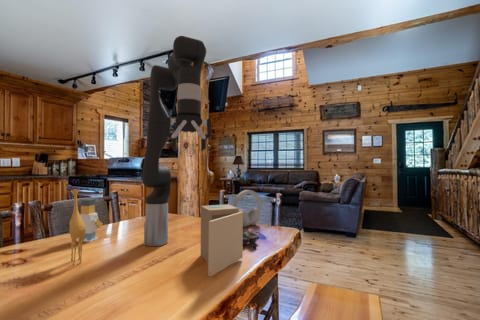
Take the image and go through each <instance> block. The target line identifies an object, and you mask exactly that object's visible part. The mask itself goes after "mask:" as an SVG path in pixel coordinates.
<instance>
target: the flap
mask: <svg viewBox="0 0 480 320" xmlns="http://www.w3.org/2000/svg"><path fill="white" fill-rule="evenodd" d="M243 228H244V227H243V212H239V213H235V214H232V215H228V216H225V217H221V218H218V219H214V220H211V221H209V251H208V263H207V265H208V266H207V267H208V268H207V269H208V270H207V271H208V273H207V275H208V276H209V277H213V276H214V275H216V274H218V273H220V272H221V271H222V270H224V269H225V268H227V267H229V266H231V265H233V264H234V263H236V262H238V261H239V260H241V259H242V258H243V252H244V251H243V246H244V244H243V231H244V230H243Z"/></svg>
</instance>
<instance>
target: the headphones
mask: <svg viewBox="0 0 480 320" xmlns="http://www.w3.org/2000/svg"><path fill="white" fill-rule="evenodd" d="M248 194H249V195H252V197H254V199H255V200H256V202H257V208H255V207H251V208H250V209H248V210H247V212H246V211H245V209H242V208H239V212H243V228H246V227H247V226H248V225H249V226H256V225H257V223H259V221H260V220H261V219H260V218H261V215H260V214H261V211H262V201H261V197H260V195H259V193H258V192H256V191H255V190H251V189H245V190H244V189H243V190H242V191H240V192H239V193H238V194H237V195H236V196H235V198H234V201H233V204H232V206H234V207H237V205H238V203H239V202H240V201H241V199H242V198H243V197H244V196H245V195H248ZM237 208H238V207H237Z"/></svg>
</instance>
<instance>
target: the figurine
mask: <svg viewBox="0 0 480 320" xmlns="http://www.w3.org/2000/svg"><path fill="white" fill-rule="evenodd" d="M259 239H260V237H259V235H258V234H256V233H254V232H251V231H250V230H246V231H244V230H243V245H246V244H248V243H249V244H250V245H252V249H253V250H257V244H256V242H257V241H258V240H259Z"/></svg>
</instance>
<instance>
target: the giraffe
mask: <svg viewBox="0 0 480 320" xmlns="http://www.w3.org/2000/svg"><path fill="white" fill-rule="evenodd" d="M70 192H71V194H72V195H73V210H72V215H71V218H70V220H69V222H68V223H69V231H68V234H69V235H70V238H71V243H70V244H71V254H70V256H71V257H70V258H71V259H70V262H73V263H72V265H73V266H75V265H76V251H77V250H78V252H77V253H78V258H77V259H78V261H79V264H82V258H83V257H82V255H83V254H82V253H83V242H84V241H83V239H84V237H85V232H86V228H85V224H84V222H83V220H82V218H81V216H80V214H81V213H80V212H79V207H78V194H79V192H81V190H80V189H79V190H78V188H76V189H75V187H74V188H73V190H70ZM77 239H78V244H77Z"/></svg>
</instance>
